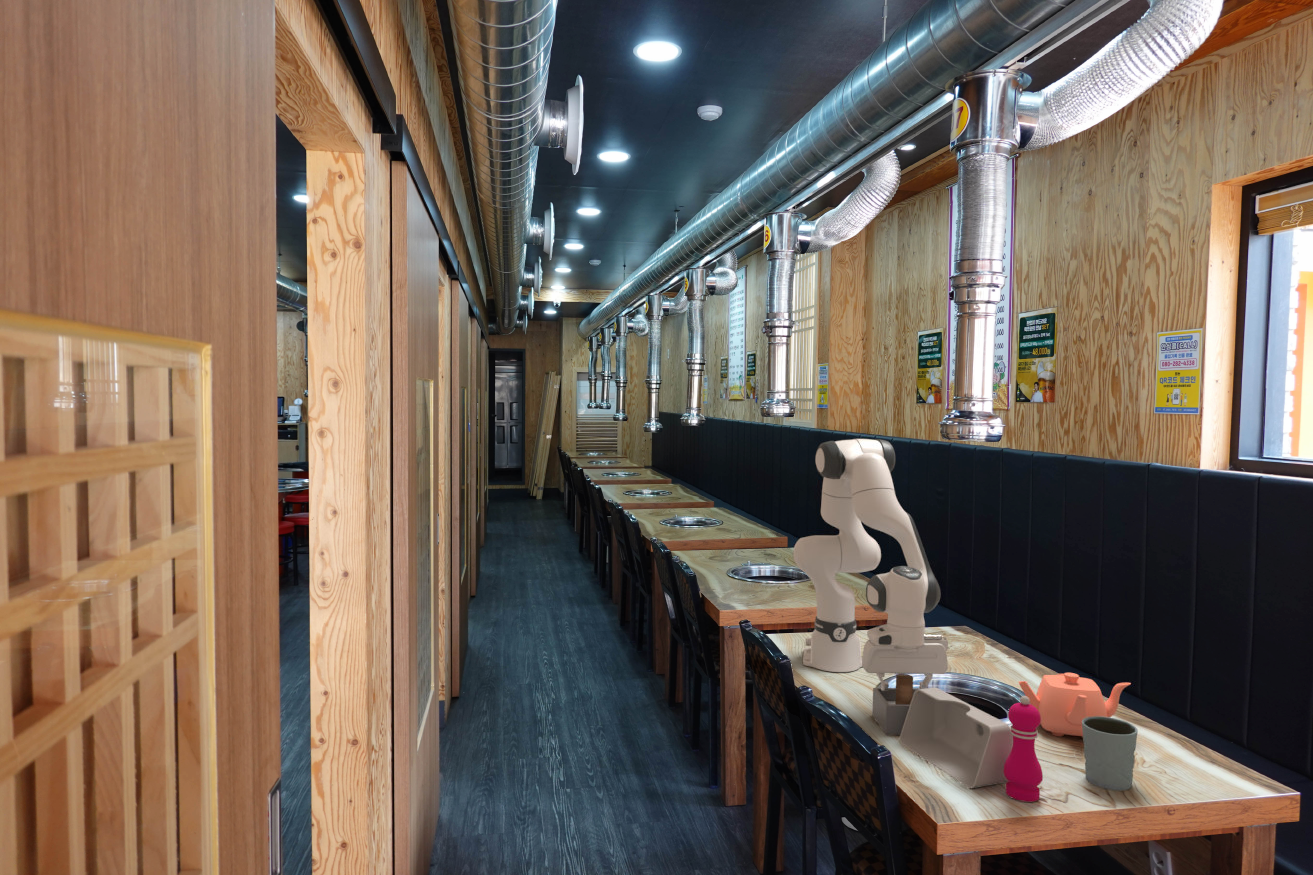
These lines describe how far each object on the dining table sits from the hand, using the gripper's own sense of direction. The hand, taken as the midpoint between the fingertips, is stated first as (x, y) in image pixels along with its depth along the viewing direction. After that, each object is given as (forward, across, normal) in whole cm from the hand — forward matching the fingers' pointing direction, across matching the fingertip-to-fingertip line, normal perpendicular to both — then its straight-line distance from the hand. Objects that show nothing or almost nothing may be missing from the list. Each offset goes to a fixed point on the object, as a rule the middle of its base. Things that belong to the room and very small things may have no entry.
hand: (903, 690), depth 201 cm
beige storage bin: (+9, -7, +20) cm, 23 cm away
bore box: (+8, 0, 0) cm, 9 cm away
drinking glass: (+8, -34, +30) cm, 46 cm away
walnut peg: (+8, 0, 0) cm, 9 cm away
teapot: (+9, -40, +3) cm, 41 cm away
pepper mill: (+8, -13, +36) cm, 39 cm away
